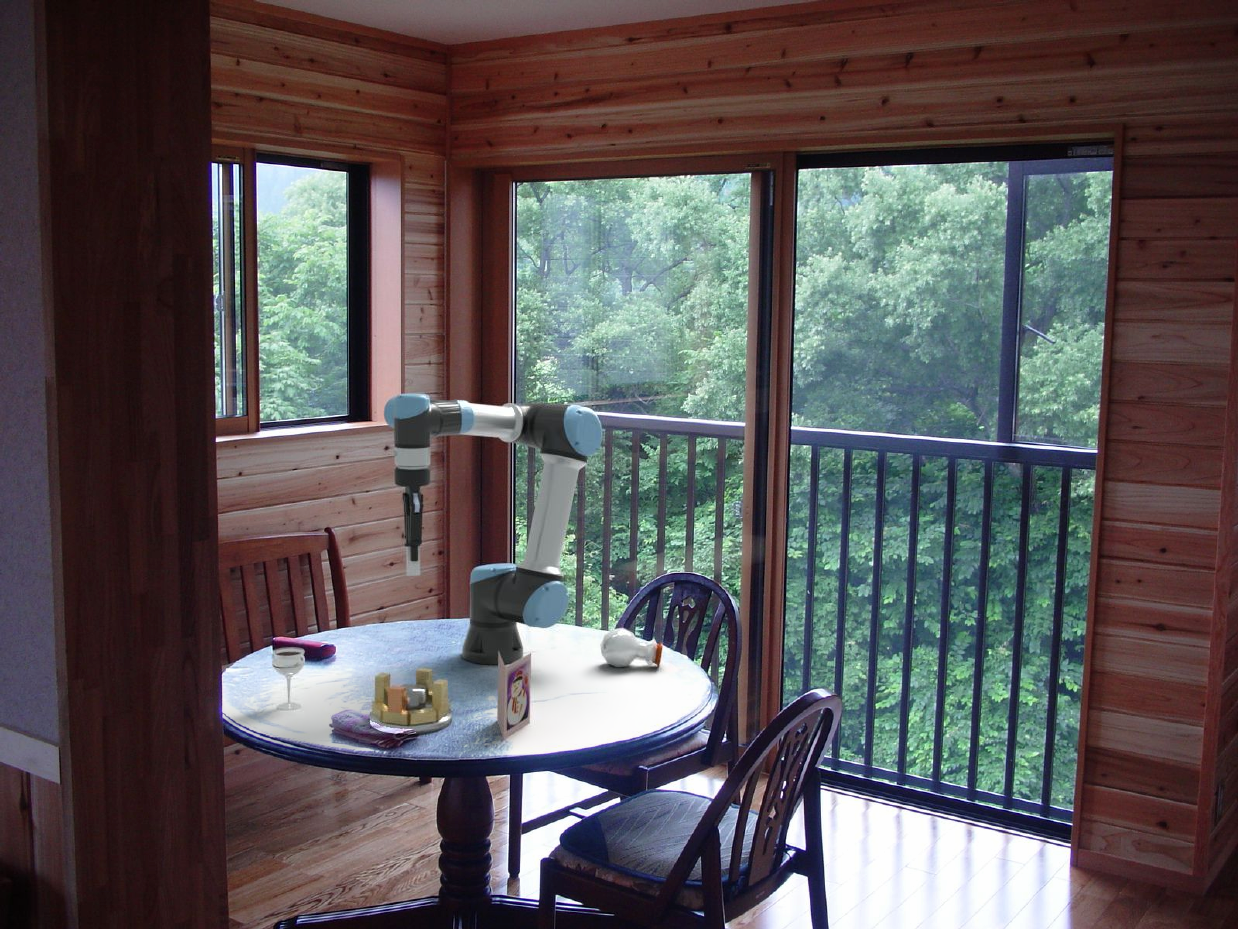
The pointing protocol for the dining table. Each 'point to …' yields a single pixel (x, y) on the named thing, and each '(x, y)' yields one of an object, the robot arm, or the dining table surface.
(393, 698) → the gold crown
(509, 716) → the greeting card
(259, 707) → the dining table surface
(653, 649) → the potion bottle
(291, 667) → the wineglass
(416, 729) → the silver round piece
